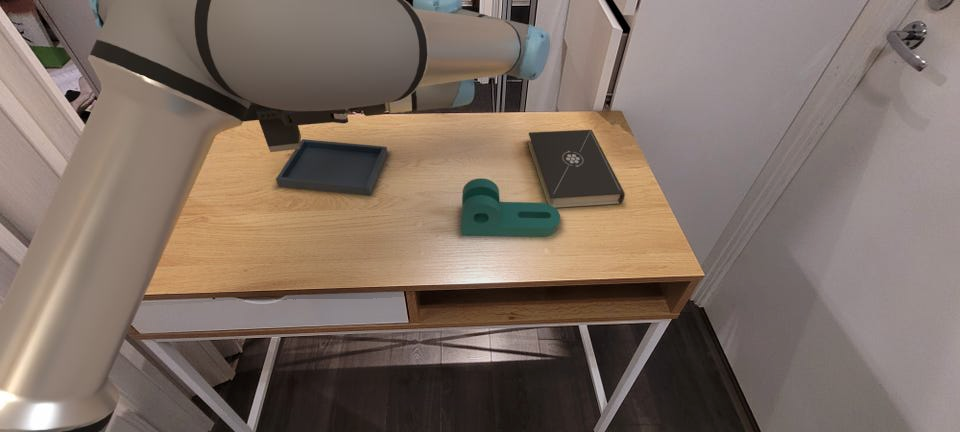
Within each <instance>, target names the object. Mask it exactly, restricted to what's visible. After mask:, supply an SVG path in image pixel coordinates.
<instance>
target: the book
mask: <svg viewBox="0 0 960 432" xmlns="http://www.w3.org/2000/svg"><path fill="white" fill-rule="evenodd" d="M528 136H529V139H530V142H527V144H526V145H527V146H528V149H529V153H530V156H531V158H532V161H533V164H534V165H533V166H534V168H535V171H536V174H537V176H538V180H539V182H540V186H541V189H542V191H543V194H544V197H545V198H544V199H545V201H546V204H549V205H551V206H553V207H555V208H556V209H567V208H569V209H570V208H583V207H584V208H585V207H601V206H615V205H621V204H622V203H623V202H624V199H625V196H626V194H625V191H624V189H623V187H622V185H621V183H620V181H619V179H618V178H617V176H616V174H615V171H614V169H613V168H612V166H611V164H610V162H609V160H608V159H607V156H606V155H605V153H604V151H603V148H602V146H601V145H600V143H599V140H598V139H597V137H596V135H595V133H594V132H593V130H592V129H575V130H573V129H572V130H552V131H550V130H549V131H531V132H528Z"/></svg>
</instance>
